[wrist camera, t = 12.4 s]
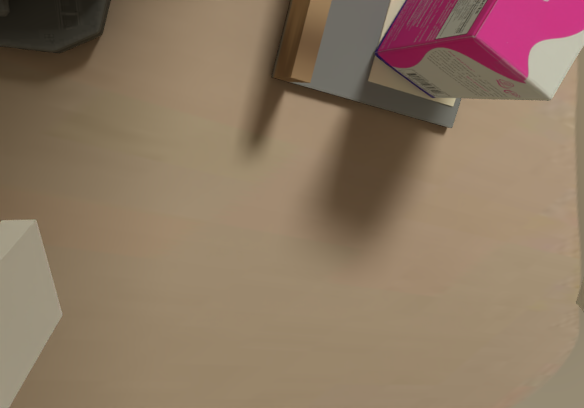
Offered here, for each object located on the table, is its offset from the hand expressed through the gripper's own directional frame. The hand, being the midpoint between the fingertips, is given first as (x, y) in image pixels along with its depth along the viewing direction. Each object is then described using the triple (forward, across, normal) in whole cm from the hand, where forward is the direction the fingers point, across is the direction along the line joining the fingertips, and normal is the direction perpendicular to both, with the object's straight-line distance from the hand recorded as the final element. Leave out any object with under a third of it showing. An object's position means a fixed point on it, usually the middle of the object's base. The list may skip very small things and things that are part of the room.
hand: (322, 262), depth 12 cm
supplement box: (+26, +9, +1) cm, 28 cm away
